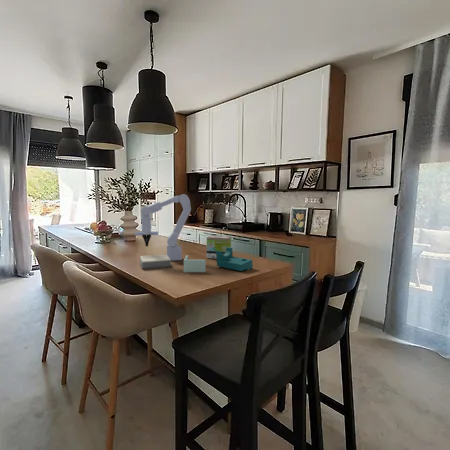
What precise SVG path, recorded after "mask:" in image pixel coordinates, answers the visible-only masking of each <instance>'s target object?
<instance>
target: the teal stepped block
mask: <svg viewBox="0 0 450 450" xmlns="http://www.w3.org/2000/svg"><path fill="white" fill-rule="evenodd" d="M216 257H217V259H216V267H221V268H226V269H229V270H235V271H239V272H243V271H249V270H248V269H250V270H251V268H252V269H253V265H254V264H253V259H250V258H243V257H238V256H233V247H231V248H230V247H227V248H226V252H225V254H224V255H223V252H222V251H216Z"/></svg>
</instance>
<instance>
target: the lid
mask: <svg viewBox="0 0 450 450" xmlns="http://www.w3.org/2000/svg"><path fill="white" fill-rule="evenodd" d="M139 258H141V261H142V262H155V261H168V260H170V258H169V257H168V256H167V253H165V254H155V255H154V254H152V255H139Z"/></svg>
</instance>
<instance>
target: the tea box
mask: <svg viewBox="0 0 450 450" xmlns="http://www.w3.org/2000/svg"><path fill="white" fill-rule="evenodd" d="M227 247H230V248H232V236H228V235H209V236H207V237H206V259H216V260H217V257H216V251H222V252H223V255H224V254H225V252H226V248H227Z"/></svg>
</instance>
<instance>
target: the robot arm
mask: <svg viewBox="0 0 450 450" xmlns="http://www.w3.org/2000/svg"><path fill="white" fill-rule="evenodd" d="M190 200H191V199H190V197H188V195H187V194H185V193H183V194H180V195H175V196H172V197H170V198H168V199H166V200H163V201H162V202H159V201H154V202H153V203H151V204H147V205H146V206H144V207H142V208H141V210H140V213H141V231H139V232H138V231H135V232H134V236H135V237H136V236H141V237H142V238H143V241H144V244H145V247H149V242H150V240H151V238H152V236H156V235H157V236H158V235H159V231H152V218H151V214H155V213H157V212H159V211H161V210H162V209H163V208H164V207H166V206H168V205H171V204H173V203H176V204H177V203H180V205H181V206H182V212H181V214H180V215H179V217H178V220H177V222H176V224H175V226H174V228H173V231H172V232H171V234H170V235H169V236H168V237H167V241H166V242H167V245H166V255H167V256H168V257H169V258H170V262H171V261H182V260H183V259H182V246H181V245H179V244H178V238H179V236H180V233H181V232H182V230H183V227H184V226H185V223H186V222H187V219H188V218H189V216H190V213H191V211H192V208H191V207H192V205H191V201H190Z"/></svg>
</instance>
